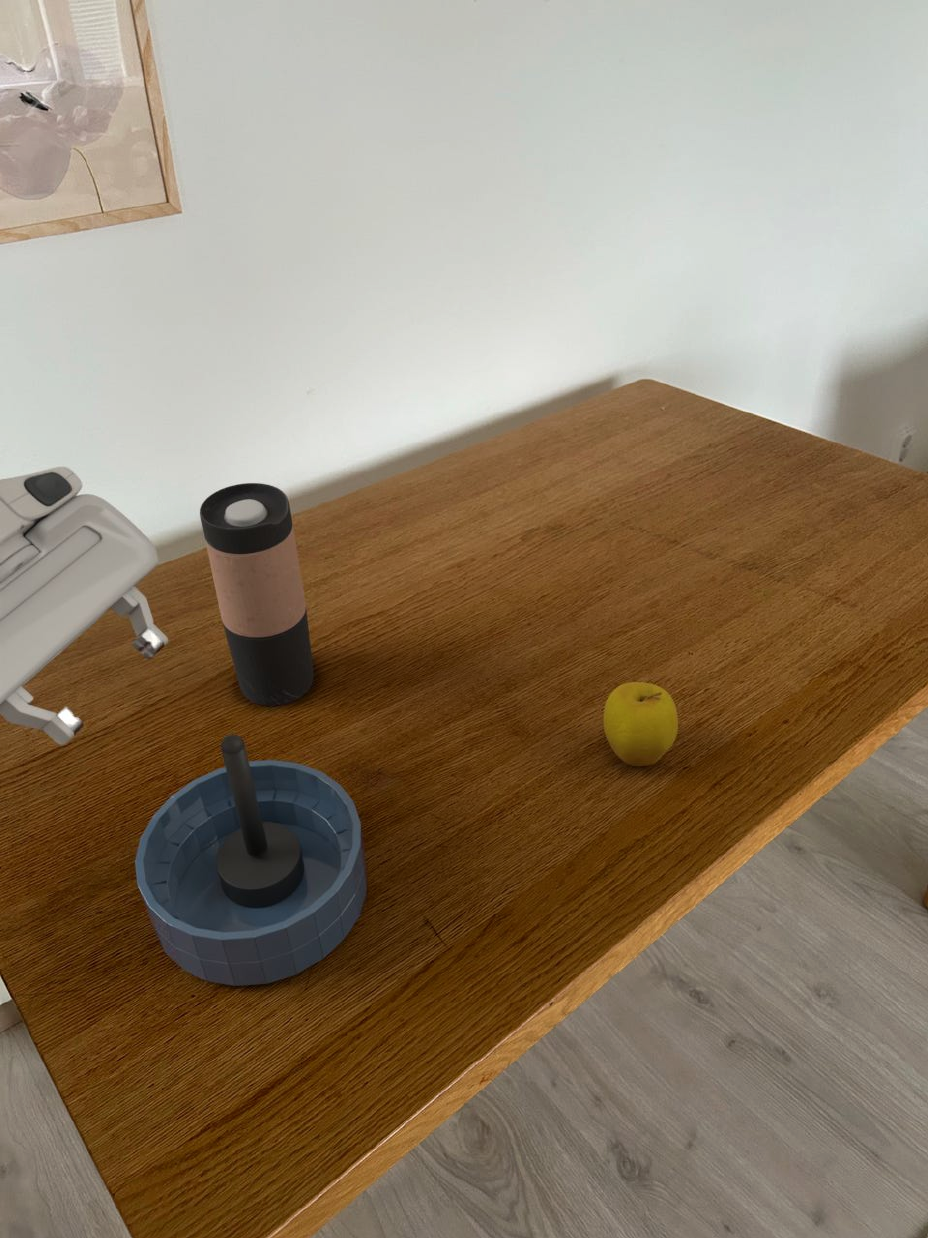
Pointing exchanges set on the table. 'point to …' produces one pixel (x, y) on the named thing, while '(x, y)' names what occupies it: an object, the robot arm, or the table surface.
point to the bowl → (240, 936)
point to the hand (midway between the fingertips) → (118, 691)
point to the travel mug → (259, 590)
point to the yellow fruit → (640, 722)
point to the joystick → (255, 843)
